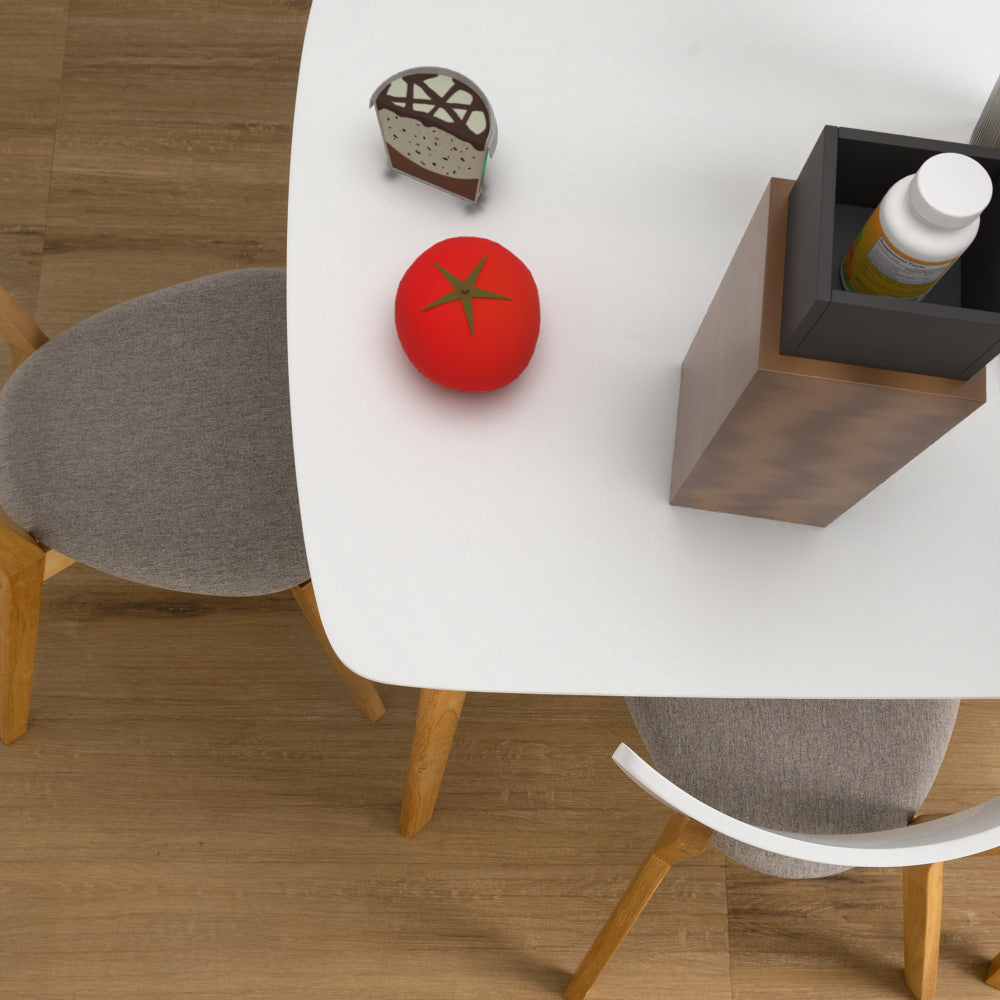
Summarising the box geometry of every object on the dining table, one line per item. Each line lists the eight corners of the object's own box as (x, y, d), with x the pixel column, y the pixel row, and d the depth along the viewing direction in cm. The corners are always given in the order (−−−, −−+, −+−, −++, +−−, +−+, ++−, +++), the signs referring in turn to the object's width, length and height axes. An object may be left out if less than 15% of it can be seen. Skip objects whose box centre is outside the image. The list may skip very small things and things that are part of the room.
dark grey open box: (966, 219, 62) (1024, 151, 56) (967, 381, 59) (1028, 329, 53) (788, 194, 63) (825, 123, 56) (778, 354, 59) (816, 299, 53)
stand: (831, 384, 90) (985, 205, 63) (825, 527, 85) (987, 402, 59) (682, 362, 90) (771, 176, 63) (668, 504, 86) (758, 369, 59)
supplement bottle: (874, 225, 61) (946, 122, 52) (941, 280, 60) (1027, 184, 51) (820, 277, 60) (883, 181, 51) (887, 334, 59) (965, 246, 50)
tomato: (393, 278, 91) (383, 215, 82) (527, 269, 92) (534, 204, 82) (404, 418, 87) (395, 369, 77) (544, 407, 88) (554, 356, 78)
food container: (516, 162, 96) (521, 91, 86) (490, 210, 94) (492, 143, 84) (404, 116, 97) (397, 41, 88) (376, 163, 95) (366, 92, 86)
